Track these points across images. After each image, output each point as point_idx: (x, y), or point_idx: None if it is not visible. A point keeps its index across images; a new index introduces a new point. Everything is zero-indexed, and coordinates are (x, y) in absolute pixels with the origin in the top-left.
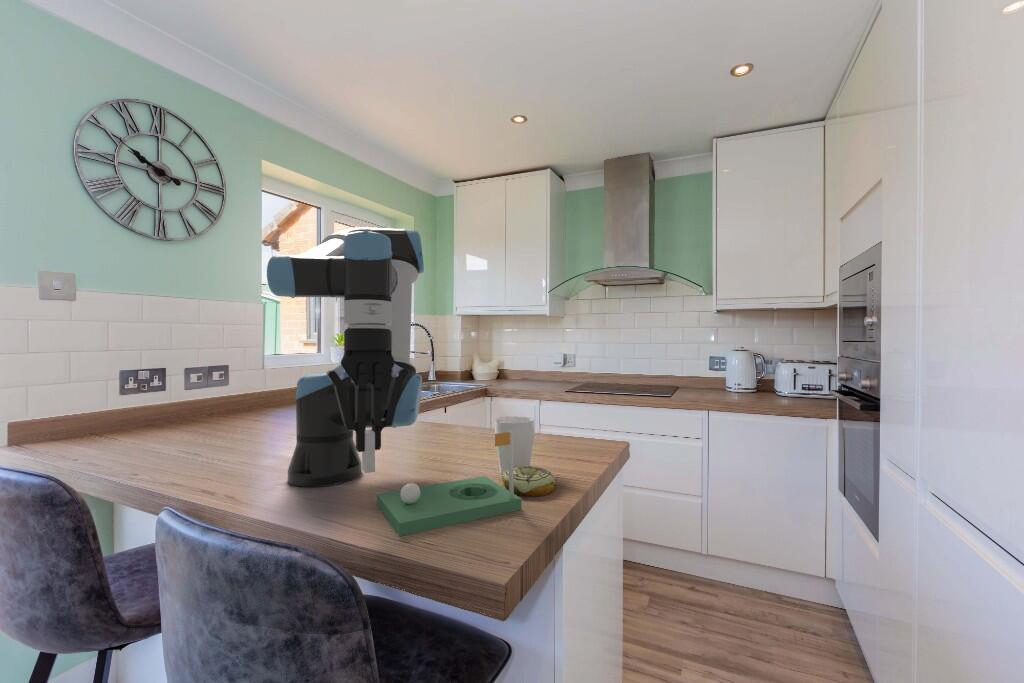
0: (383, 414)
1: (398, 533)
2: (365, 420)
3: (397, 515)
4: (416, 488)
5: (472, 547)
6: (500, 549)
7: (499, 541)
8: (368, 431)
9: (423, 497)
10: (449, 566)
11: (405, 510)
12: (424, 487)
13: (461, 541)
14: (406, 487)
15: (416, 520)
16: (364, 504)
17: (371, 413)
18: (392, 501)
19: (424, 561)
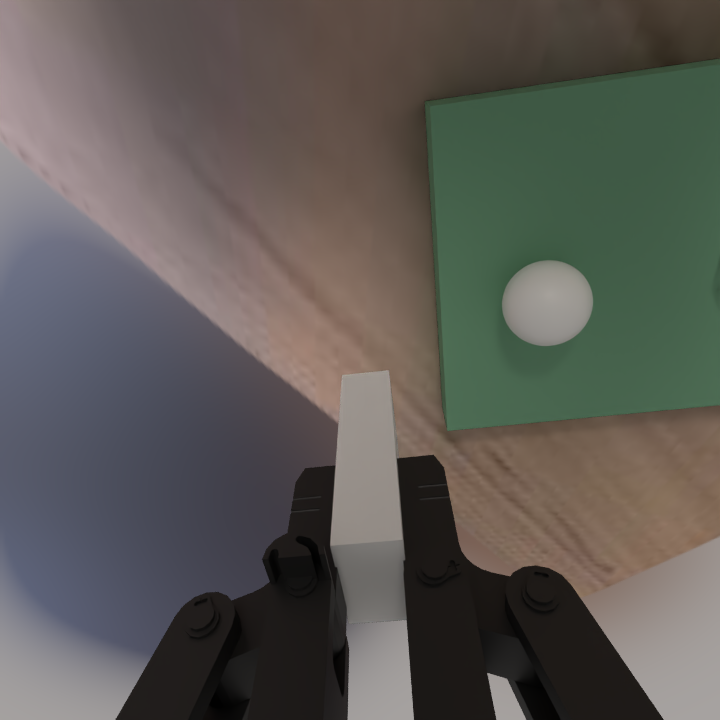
0: (537, 659)
1: (442, 401)
2: (346, 716)
3: (457, 376)
4: (572, 337)
5: (583, 507)
6: (631, 531)
7: (655, 504)
8: (372, 595)
9: (607, 244)
10: (501, 550)
11: (493, 347)
12: (680, 97)
13: (576, 478)
14: (533, 335)
15: (500, 425)
16: (370, 65)
17: (413, 698)
18: (474, 240)
19: (462, 522)
